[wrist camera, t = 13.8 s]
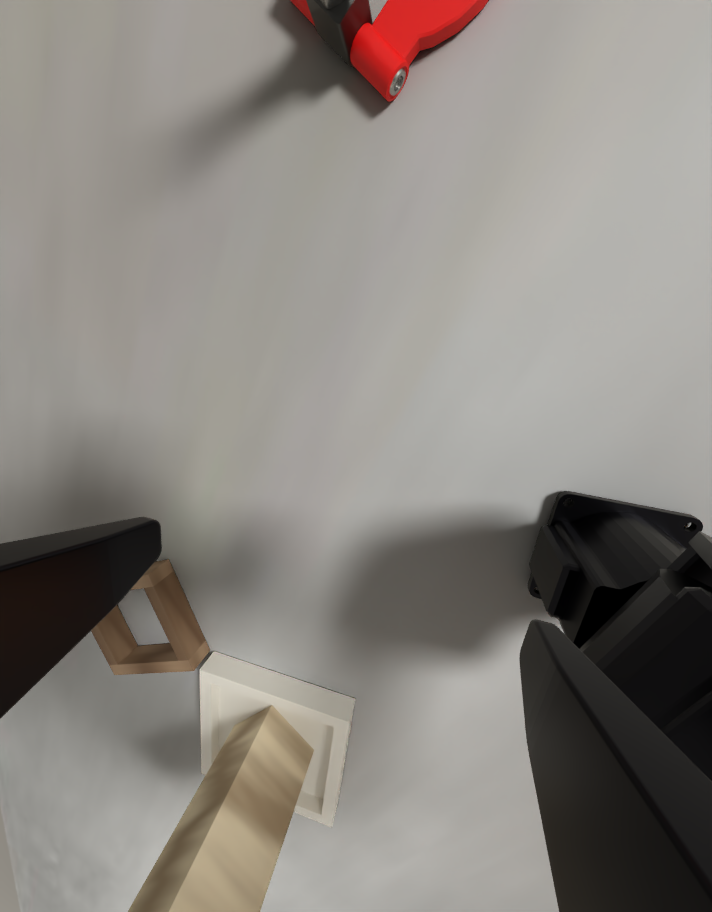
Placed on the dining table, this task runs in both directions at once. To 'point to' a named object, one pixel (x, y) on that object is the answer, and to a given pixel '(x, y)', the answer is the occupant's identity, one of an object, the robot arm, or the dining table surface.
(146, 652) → the walnut collar
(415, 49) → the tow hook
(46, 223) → the dining table surface
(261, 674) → the tray
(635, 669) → the robot arm
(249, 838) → the tan wooden block
